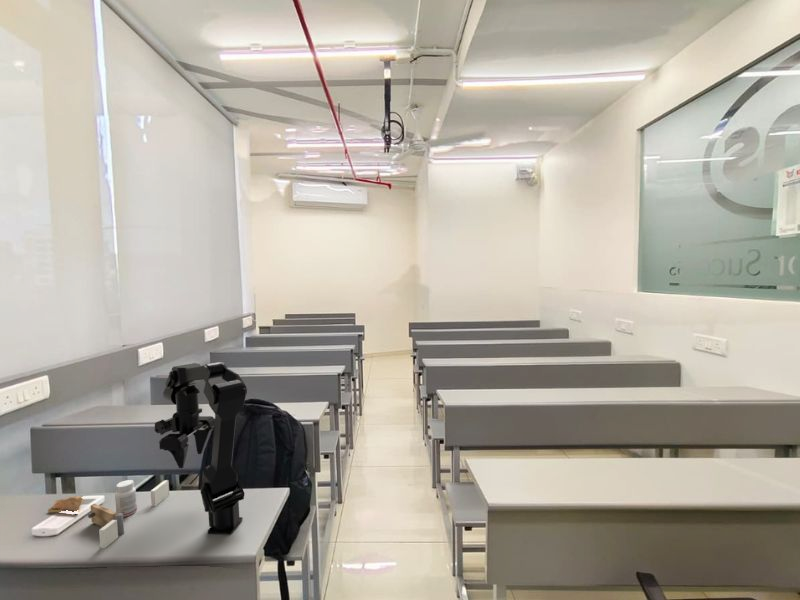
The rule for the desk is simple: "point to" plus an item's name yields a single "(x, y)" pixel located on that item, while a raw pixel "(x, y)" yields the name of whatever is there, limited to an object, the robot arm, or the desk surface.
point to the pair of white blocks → (116, 525)
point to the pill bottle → (126, 498)
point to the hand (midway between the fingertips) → (190, 460)
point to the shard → (66, 504)
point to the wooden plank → (101, 515)
